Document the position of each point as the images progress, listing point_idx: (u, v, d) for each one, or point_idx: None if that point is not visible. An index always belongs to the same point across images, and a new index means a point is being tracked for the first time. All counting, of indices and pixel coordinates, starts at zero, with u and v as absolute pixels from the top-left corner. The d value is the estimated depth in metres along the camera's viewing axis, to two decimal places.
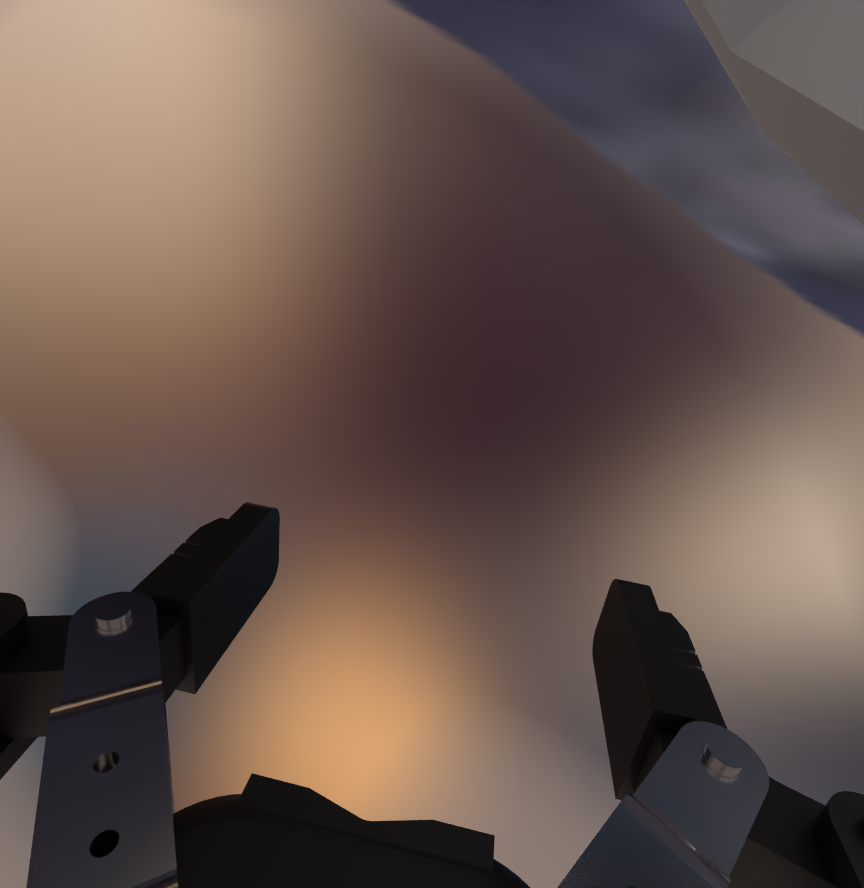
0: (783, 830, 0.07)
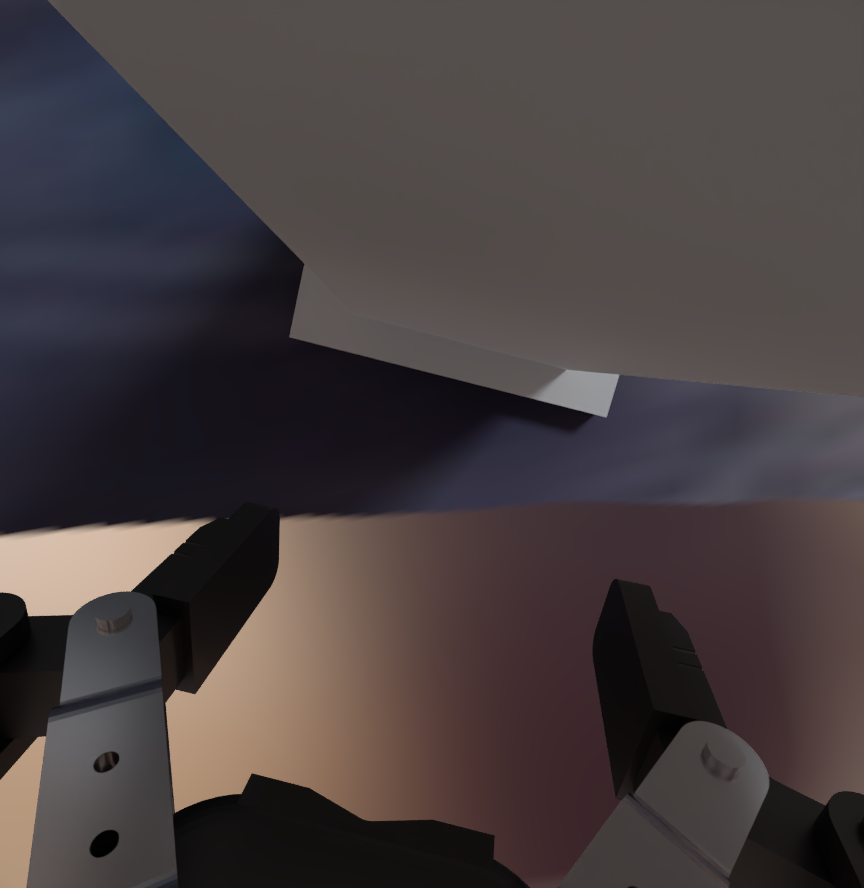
0: (783, 830, 0.07)
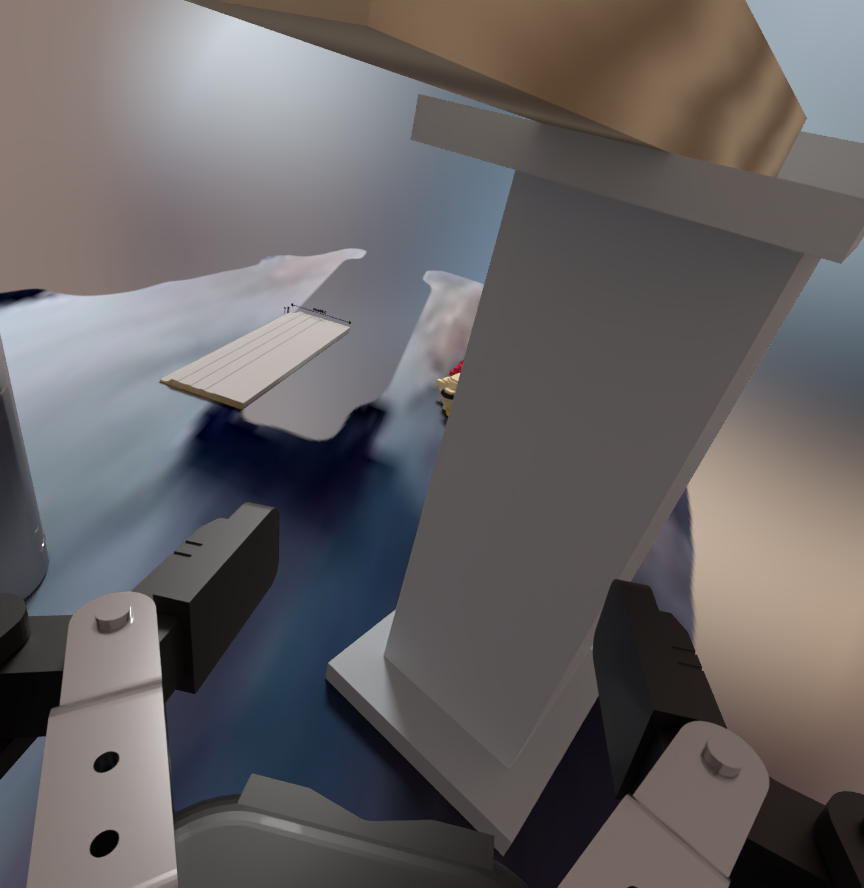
0: (783, 830, 0.07)
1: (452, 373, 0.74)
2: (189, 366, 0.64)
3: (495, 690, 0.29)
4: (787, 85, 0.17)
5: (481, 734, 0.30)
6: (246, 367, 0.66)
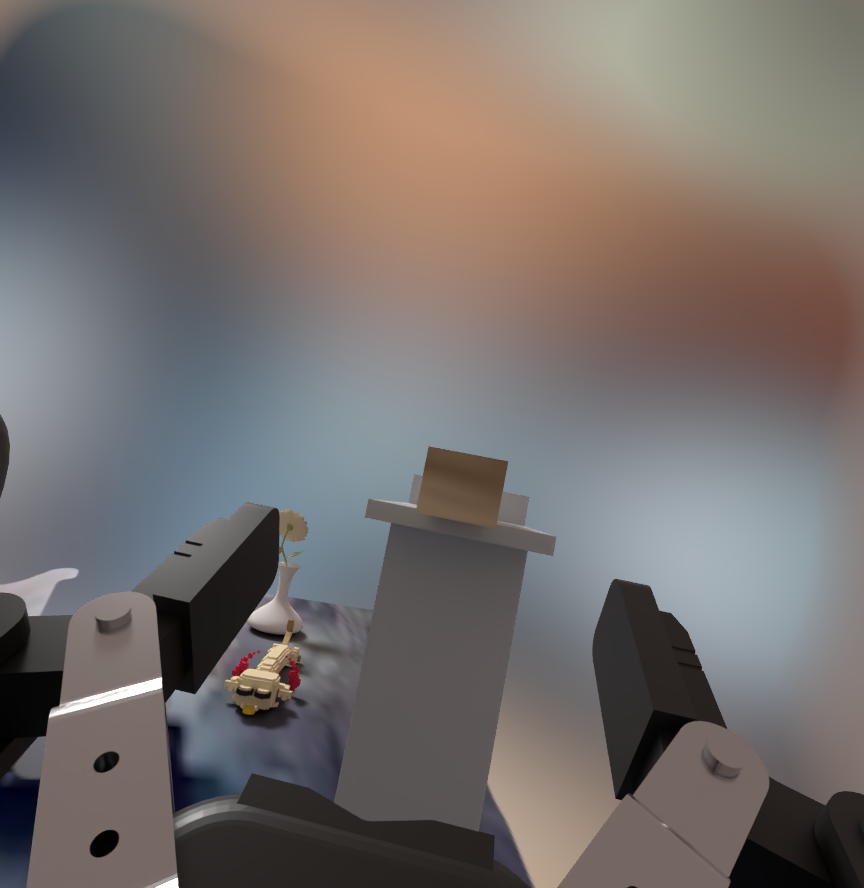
0: (783, 830, 0.07)
1: (235, 672, 0.78)
2: None
3: None
4: None
5: None
6: None
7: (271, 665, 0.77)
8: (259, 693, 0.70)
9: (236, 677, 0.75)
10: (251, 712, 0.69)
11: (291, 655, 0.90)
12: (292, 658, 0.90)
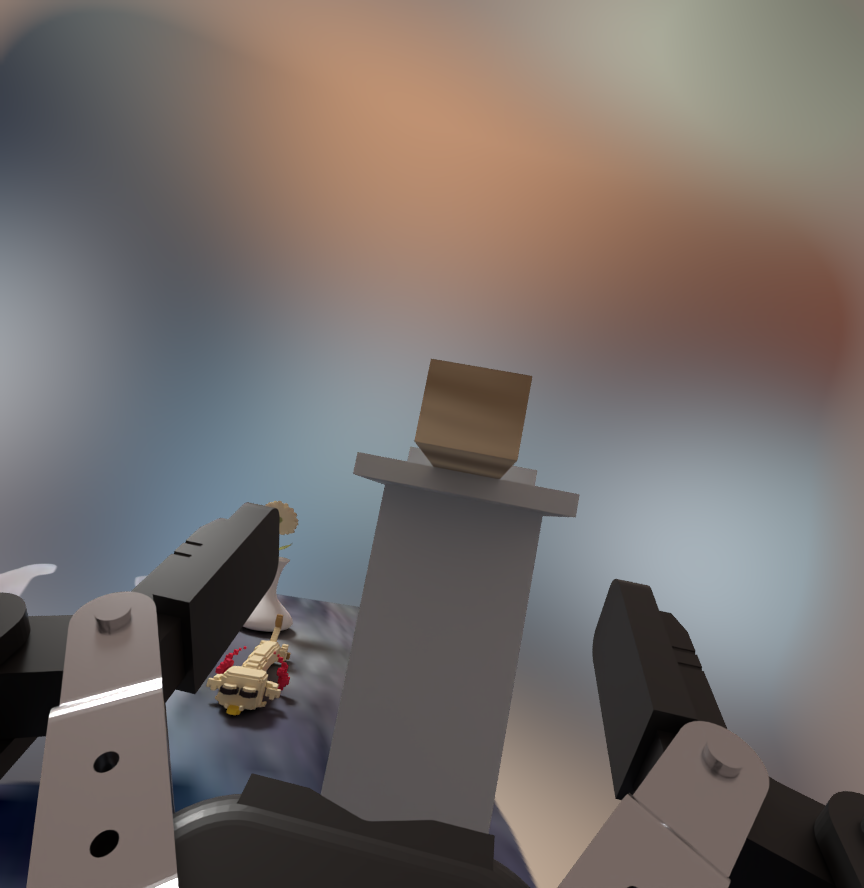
0: (783, 830, 0.07)
1: (219, 670, 0.72)
2: None
3: None
4: None
5: None
6: None
7: (258, 662, 0.71)
8: (245, 692, 0.64)
9: (220, 675, 0.69)
10: (236, 712, 0.64)
11: (280, 652, 0.84)
12: (281, 655, 0.84)
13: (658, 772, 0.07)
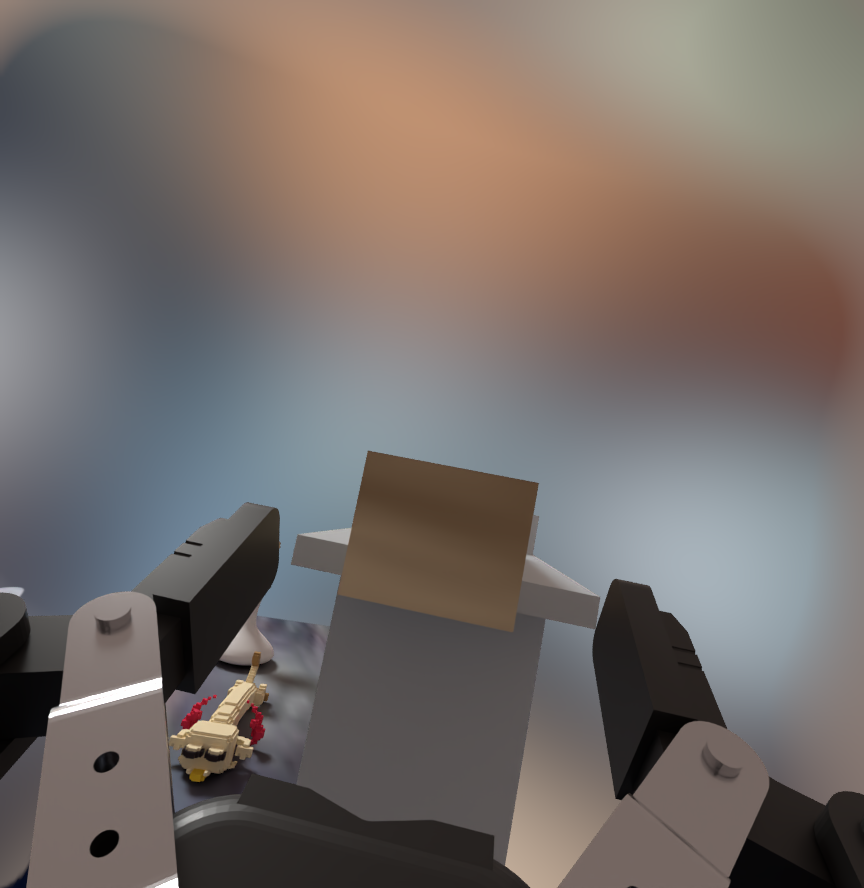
0: (783, 830, 0.07)
1: (185, 723, 0.65)
2: None
3: None
4: None
5: None
6: None
7: (228, 714, 0.64)
8: (210, 754, 0.57)
9: (185, 731, 0.62)
10: (200, 778, 0.56)
11: (256, 695, 0.77)
12: (257, 698, 0.77)
13: (658, 772, 0.07)
